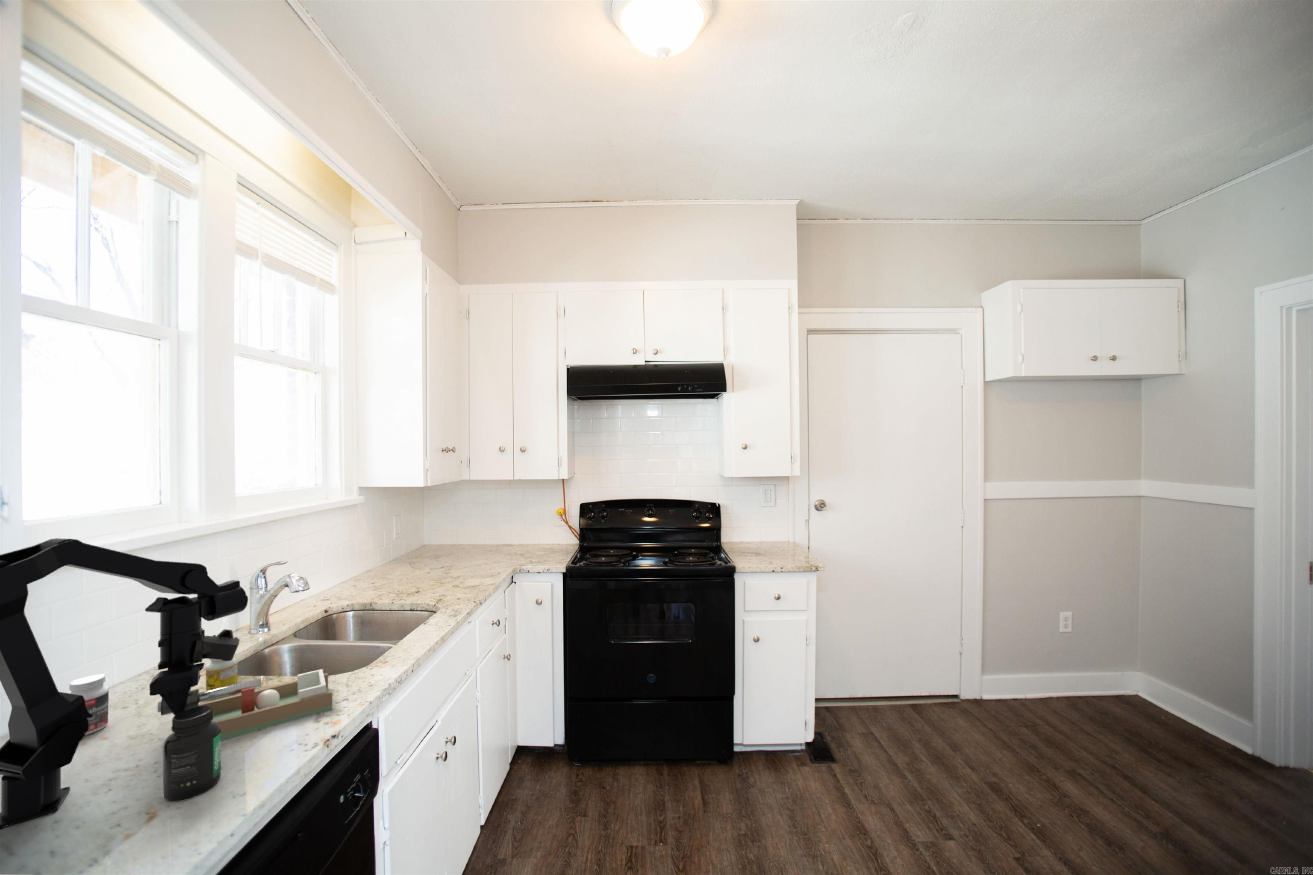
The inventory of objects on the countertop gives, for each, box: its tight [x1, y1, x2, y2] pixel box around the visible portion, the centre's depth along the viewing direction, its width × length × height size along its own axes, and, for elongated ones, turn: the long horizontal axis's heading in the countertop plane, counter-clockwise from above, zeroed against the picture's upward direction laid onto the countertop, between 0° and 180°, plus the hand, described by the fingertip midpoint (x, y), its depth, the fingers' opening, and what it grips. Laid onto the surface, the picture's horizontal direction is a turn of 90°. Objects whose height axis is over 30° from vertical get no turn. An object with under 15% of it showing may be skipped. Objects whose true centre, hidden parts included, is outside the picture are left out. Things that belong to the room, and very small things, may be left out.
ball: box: [255, 689, 280, 710], centre depth 103 cm, size 4×4×4 cm
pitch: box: [198, 672, 333, 741], centre depth 102 cm, size 12×24×4 cm, turn 127°
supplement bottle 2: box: [205, 657, 239, 701], centre depth 113 cm, size 5×5×10 cm
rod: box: [157, 678, 262, 716], centre depth 98 cm, size 4×15×7 cm, turn 127°
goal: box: [296, 668, 326, 699], centre depth 108 cm, size 10×5×4 cm, turn 37°
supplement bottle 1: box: [162, 705, 222, 802], centre depth 81 cm, size 7×7×12 cm
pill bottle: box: [68, 673, 110, 736], centre depth 99 cm, size 6×6×10 cm
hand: (181, 712), depth 95 cm, fingers open, 3 cm apart
